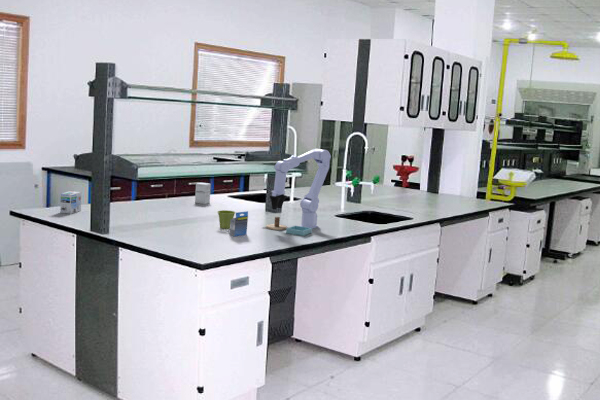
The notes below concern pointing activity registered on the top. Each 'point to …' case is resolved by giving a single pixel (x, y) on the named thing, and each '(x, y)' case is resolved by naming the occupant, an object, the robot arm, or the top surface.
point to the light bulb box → (70, 202)
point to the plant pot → (225, 218)
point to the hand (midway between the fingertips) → (276, 208)
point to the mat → (275, 230)
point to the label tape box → (239, 224)
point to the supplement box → (202, 193)
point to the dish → (299, 230)
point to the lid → (276, 225)
